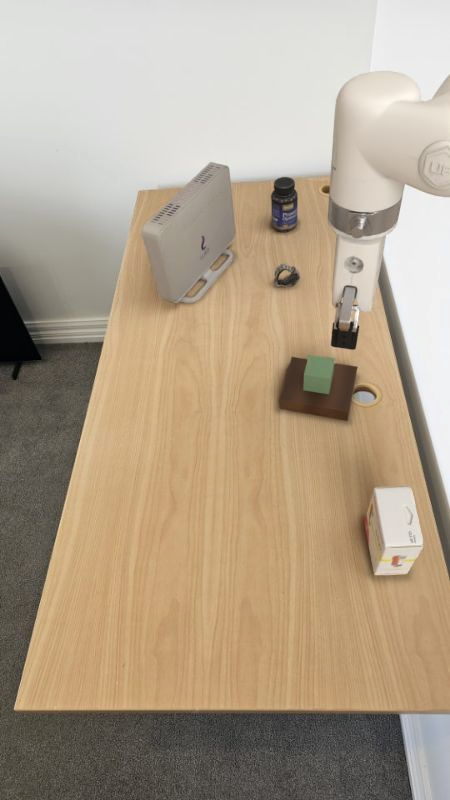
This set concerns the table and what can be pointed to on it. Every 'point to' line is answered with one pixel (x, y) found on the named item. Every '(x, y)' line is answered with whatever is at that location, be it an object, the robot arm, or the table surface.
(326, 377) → the green cube
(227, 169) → the network device
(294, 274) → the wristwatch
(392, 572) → the ink box
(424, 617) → the table surface
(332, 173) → the robot arm
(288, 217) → the pill bottle
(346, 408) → the walnut block
